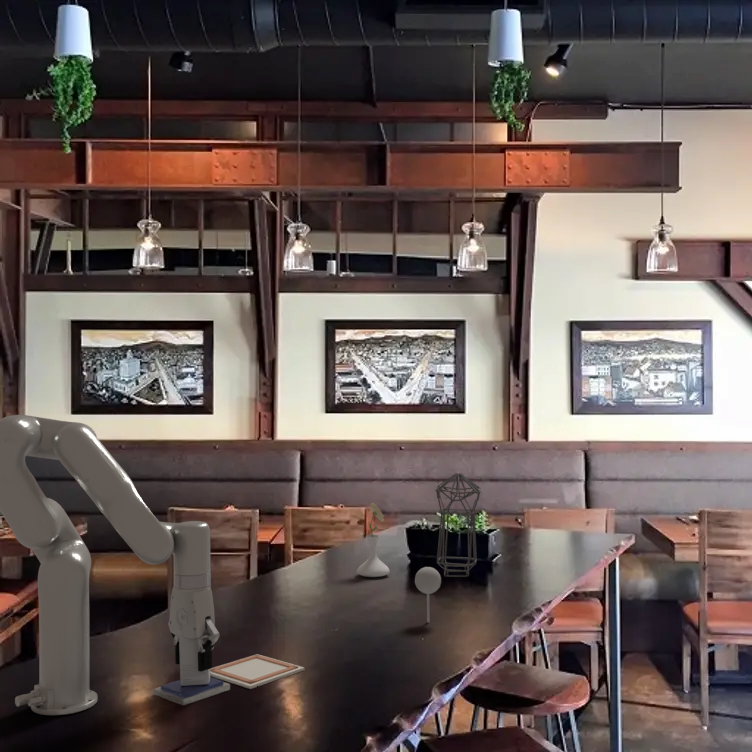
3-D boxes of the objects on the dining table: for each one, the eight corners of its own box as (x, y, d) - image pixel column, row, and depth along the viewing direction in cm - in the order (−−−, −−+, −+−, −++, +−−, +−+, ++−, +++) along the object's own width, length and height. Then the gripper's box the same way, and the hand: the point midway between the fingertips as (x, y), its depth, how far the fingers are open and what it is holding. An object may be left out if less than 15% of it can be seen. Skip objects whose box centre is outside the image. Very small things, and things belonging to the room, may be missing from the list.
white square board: (250, 689, 181) (250, 684, 181) (203, 673, 191) (203, 669, 191) (304, 670, 193) (304, 666, 193) (257, 656, 203) (257, 652, 203)
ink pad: (183, 705, 172) (183, 696, 172) (154, 694, 178) (153, 685, 178) (230, 689, 181) (230, 681, 181) (200, 679, 187) (200, 671, 187)
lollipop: (446, 622, 233) (446, 566, 233) (430, 627, 228) (429, 570, 228) (426, 617, 238) (426, 563, 238) (409, 622, 233) (409, 567, 233)
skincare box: (210, 678, 182) (210, 621, 183) (209, 685, 178) (208, 627, 178) (180, 680, 182) (180, 622, 182) (178, 687, 177) (178, 628, 177)
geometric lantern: (435, 569, 304) (437, 471, 305) (480, 571, 302) (481, 472, 303) (432, 578, 289) (434, 474, 290) (479, 580, 286) (480, 475, 288)
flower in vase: (389, 579, 288) (389, 505, 289) (356, 579, 288) (355, 505, 289) (389, 571, 301) (389, 500, 302) (357, 571, 301) (356, 500, 302)
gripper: (153, 579, 183) (154, 662, 182) (203, 590, 171) (205, 679, 171) (182, 573, 188) (183, 654, 188) (233, 583, 177) (234, 669, 177)
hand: (193, 665), depth 180 cm, fingers closed on skincare box, 7 cm apart
